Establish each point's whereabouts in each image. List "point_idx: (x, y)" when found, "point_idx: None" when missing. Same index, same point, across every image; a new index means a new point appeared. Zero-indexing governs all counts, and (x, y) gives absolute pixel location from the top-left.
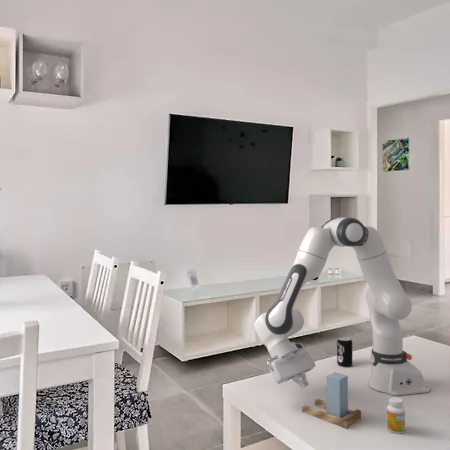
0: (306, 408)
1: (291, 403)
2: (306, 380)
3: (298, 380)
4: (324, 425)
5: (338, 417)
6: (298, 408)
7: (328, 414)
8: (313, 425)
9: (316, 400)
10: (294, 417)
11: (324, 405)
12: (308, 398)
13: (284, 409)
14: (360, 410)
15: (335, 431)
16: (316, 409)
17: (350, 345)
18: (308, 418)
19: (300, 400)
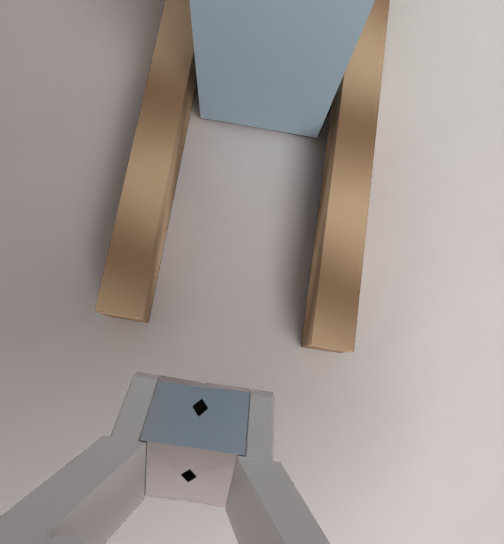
0: (357, 297)
1: None
2: (132, 423)
3: (309, 526)
4: (431, 110)
5: None
6: (297, 413)
7: (359, 87)
8: (482, 171)
9: (144, 295)
10: (468, 352)
11: (164, 213)
12: (33, 447)
13: (394, 513)
14: None
15: (458, 24)
16: (336, 205)
17: None
18: (410, 251)
19: None
